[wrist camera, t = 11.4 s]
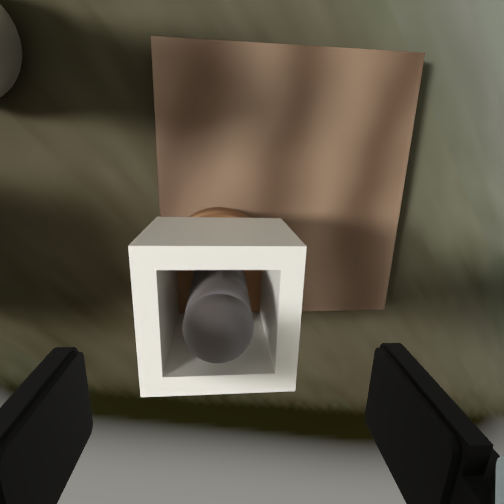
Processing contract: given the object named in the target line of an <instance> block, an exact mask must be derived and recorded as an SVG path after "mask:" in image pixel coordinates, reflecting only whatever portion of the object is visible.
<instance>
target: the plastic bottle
mask: <svg viewBox="0 0 504 504" xmlns="http://www.w3.org/2000/svg"><path fill="white" fill-rule="evenodd" d="M21 64H22V47H21V41H20V37H19V34H18V32H17V29H16V26H15V24H14V23H13V21H12V19H11V17H10V16H9V14H8V13H7V12H6V10H5V9H4V8H3V7H2V5H1V4H0V97H1V96H3V95H4V94H5V93H6V92H8V91H9V90H10V89H11V87H12V86H13V85H14V83H15V82H16V80H17V77H18V75H19V73H20V69H21Z"/></svg>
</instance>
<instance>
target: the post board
mask: <svg viewBox="0 0 504 504" xmlns="http://www.w3.org/2000/svg"><path fill="white" fill-rule="evenodd" d="M151 50H152V69H153V88H154V107H155V126H156V145H157V164H158V183H159V202H160V217H223V218H281V219H282V220H283V221H284V222H285V223H286V224H287V225H288V227H289V228H290V229H291V230H292V231H293V232H294V233H295V234H296V235H297V236H298V237H299V239H300V240H301V241H302V242H303V243H304V244H305V245H306V246H307V249H306V262H305V274H304V287H303V299H302V311H347V310H384V308H385V302H386V296H387V289H388V283H389V277H390V270H391V264H392V258H393V252H394V245H395V239H396V233H397V226H398V220H399V214H400V208H401V201H402V195H403V189H404V182H405V176H406V170H407V163H408V157H409V151H410V145H411V138H412V132H413V126H414V119H415V113H416V107H417V101H418V94H419V88H420V82H421V75H422V69H423V63H424V57H425V53H419V52H403V51H387V50H371V49H354V48H338V47H322V46H306V45H290V44H274V43H258V42H242V41H226V40H210V39H193V38H177V37H161V36H151ZM261 272H262V270H177V274H178V300H179V314H182V313H185V315H184V319H183V328H182V330H183V336H184V340H185V342H186V345H187V346H188V348H189V349H190V351H191V352H192V353H193V354H194V355H195V356H196V357H198V358H199V359H201V360H203V361H206V362H209V363H225V362H229V361H231V360H234V359H235V358H237V357H238V356H240V355H241V354H242V353H243V352H244V351H245V350H246V348H247V347H248V345H249V344H250V342H251V339H252V336H253V331H254V322H253V316H252V312H260V298H261Z"/></svg>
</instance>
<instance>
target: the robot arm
mask: <svg viewBox="0 0 504 504" xmlns="http://www.w3.org/2000/svg"><path fill="white" fill-rule="evenodd" d="M365 420H366V424H367V426H368V429H369V431H370V433H371V435H372V437H373V438H374V440H375V442H376V444H377V446H378V448H379V450H380V452H381V454H382V456H383V458H384V460H385V462H386V464H387V466H388V468H389V470H390V472H391V474H392V476H393V478H394V480H395V482H396V484H397V486H398V488H399V490H400V492H401V493H402V496H403V498H404V499H405V501H406V503H407V504H504V455H502V456H501V457H500V456H499V455H498V453H496V451H495V450H494V449H493V444H492V443H491V442H490V441H489V440H488V438H487V437H486V436H485V435H484V434H483V433H482V432H481V431H480V430H479V429H478V428H477V426H476V425H475V424H474V423H473V422H472V421H471V420H470V419H469V418H468V416H467V415H466V414H465V413H464V412H463V411H462V410H461V409H460V408H459V407H458V405H457V404H456V403H455V402H454V401H453V400H452V399H451V398H450V397H449V396H448V394H447V393H446V392H445V391H444V390H443V389H442V388H441V387H440V386H439V384H438V383H437V382H436V381H435V380H434V379H433V378H432V377H431V376H430V375H429V373H428V372H427V371H426V370H425V369H424V368H423V367H422V366H421V365H420V364H419V362H418V361H417V360H416V359H415V358H414V357H413V356H412V355H411V354H410V353H409V351H408V350H407V349H406V348H405V347H404V346H403V345H402V344H401V343H382V344H381V345H380V348H376V350H375V354H374V360H373V367H372V373H371V380H370V386H369V392H368V399H367V405H366V412H365ZM92 427H93V421H92V413H91V406H90V398H89V391H88V384H87V376H86V369H85V362H84V355H83V353H82V352H78V350H77V348H75V347H57V348H54V349H53V350H52V351H51V352H50V353H49V354H48V355H47V356H46V357H45V359H44V360H43V361H42V362H41V363H40V364H39V365H38V366H37V367H36V369H35V370H34V371H33V372H32V373H31V374H30V375H29V376H28V377H27V379H26V380H25V381H24V382H23V383H22V384H21V385H20V386H19V388H18V389H17V390H16V391H15V392H14V393H13V394H12V395H11V396H10V398H9V399H8V400H7V401H6V402H5V403H4V404H3V405H2V407H1V408H0V504H57V502H58V500H59V498H60V496H61V494H62V492H63V490H64V488H65V486H66V484H67V482H68V480H69V478H70V476H71V474H72V471H73V470H74V468H75V465H76V463H77V461H78V459H79V457H80V455H81V453H82V451H83V449H84V447H85V445H86V443H87V441H88V439H89V437H90V435H91V432H92Z"/></svg>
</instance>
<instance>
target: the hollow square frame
mask: <svg viewBox="0 0 504 504" xmlns="http://www.w3.org/2000/svg"><path fill="white" fill-rule="evenodd" d="M306 249H307V246H306V245H305V244H304V243H303V242H302V241H301V240H300V239H299V237H298V236H297V235H296V234H295V233H294V232H293V231H292V230H291V229H290V228H289V227H288V225H287V224H286V223H285V222H284V221H283V220H282V219H281V218H223V217H156V218H155V219H154V220H153V221H152V222H151V223H150V224H149V225H148V226H147V227H146V228H145V229H144V230H143V231H142V232H141V233H140V234H139V235H138V236H137V237H136V238H135V239H134V240H133V241H132V242H131V243H130V244H129V245H128V251H129V263H130V275H131V287H132V299H133V311H134V323H135V335H136V347H137V360H138V372H139V384H140V396H141V397H159V396H184V395H209V394H234V393H260V392H285V391H295V387H296V374H297V362H298V349H299V337H300V324H301V312H302V299H303V287H304V274H305V262H306ZM177 270H262V272H261V298H260V312H252V316H253V322H254V331H253V336H252V339H251V342H250V344H249V345H248V347H247V348H246V350H245V351H244V352H243V353H242V354H241V355H240V356H238V357H237V358H235V359H234V360H231V361H229V362H225V363H209V362H206V361H203V360H201V359H199V358H198V357H196V356H195V355H194V354H193V353H192V352H191V351H190V349H189V348H188V346H187V345H186V342H185V340H184V336H183V330H182V328H183V319H184V315H185V313H182V314H179V300H178V274H177Z"/></svg>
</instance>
